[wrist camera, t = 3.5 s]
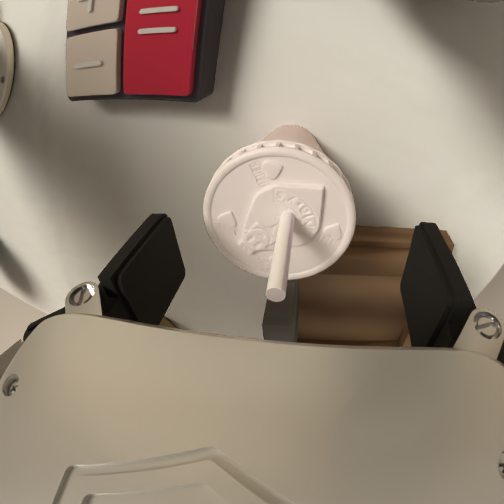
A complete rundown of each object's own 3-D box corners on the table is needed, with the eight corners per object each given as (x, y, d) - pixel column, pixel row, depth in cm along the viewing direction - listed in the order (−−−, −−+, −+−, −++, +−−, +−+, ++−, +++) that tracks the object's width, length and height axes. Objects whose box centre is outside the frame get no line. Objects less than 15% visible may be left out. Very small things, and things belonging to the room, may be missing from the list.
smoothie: (356, 155, 19) (411, 313, 8) (289, 207, 22) (262, 377, 11) (292, 86, 17) (258, 144, 6) (227, 148, 20) (125, 285, 9)
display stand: (281, 223, 23) (262, 324, 15) (446, 230, 20) (492, 323, 13) (284, 334, 31) (272, 417, 24) (406, 336, 29) (418, 416, 21)
